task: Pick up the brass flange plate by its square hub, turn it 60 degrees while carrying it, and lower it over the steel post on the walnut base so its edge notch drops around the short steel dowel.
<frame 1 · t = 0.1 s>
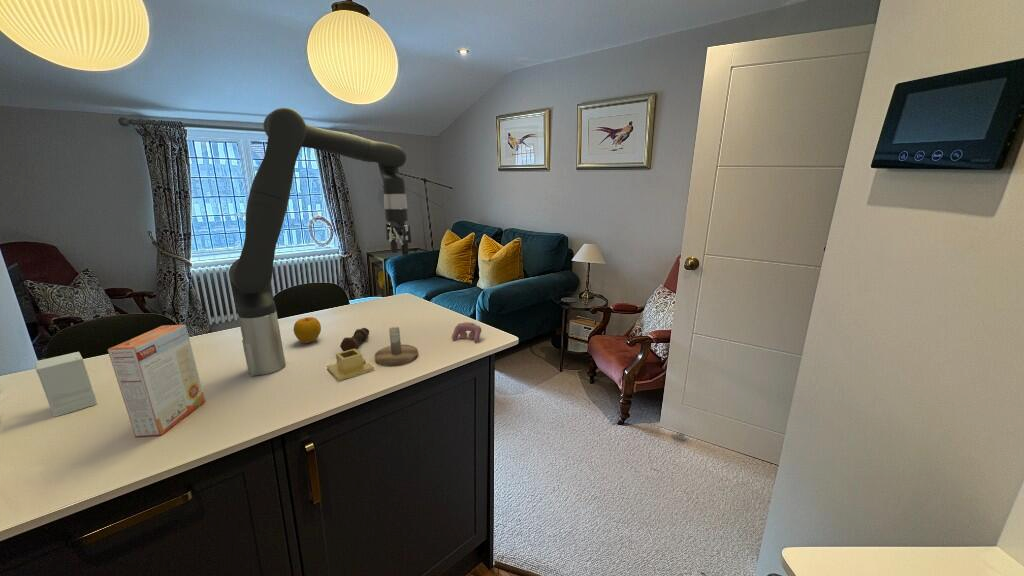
hand: (399, 254, 136), 29 cm above the worktop, fingers open, 8 cm apart
post base: (396, 356, 121), on the worktop
purple arched piece: (467, 340, 135), on the worktop
cracker box: (172, 419, 90), on the worktop
dark brown dumbbell: (358, 345, 132), on the worktop
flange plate: (350, 369, 113), on the worktop
apple: (309, 342, 134), on the worktop
supplement box: (75, 406, 95), on the worktop
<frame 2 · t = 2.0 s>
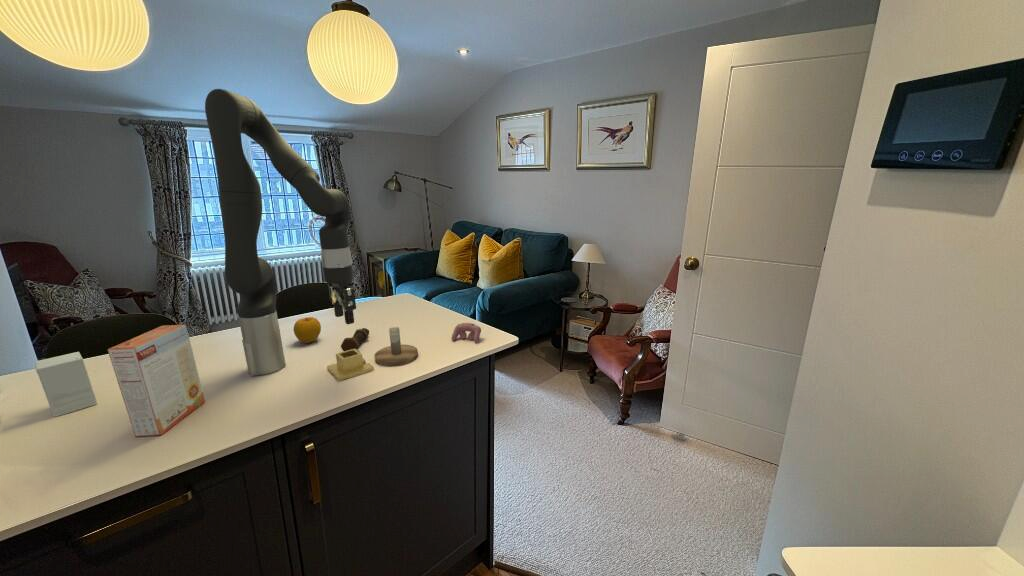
hand: (344, 319, 109), 15 cm above the worktop, fingers open, 8 cm apart
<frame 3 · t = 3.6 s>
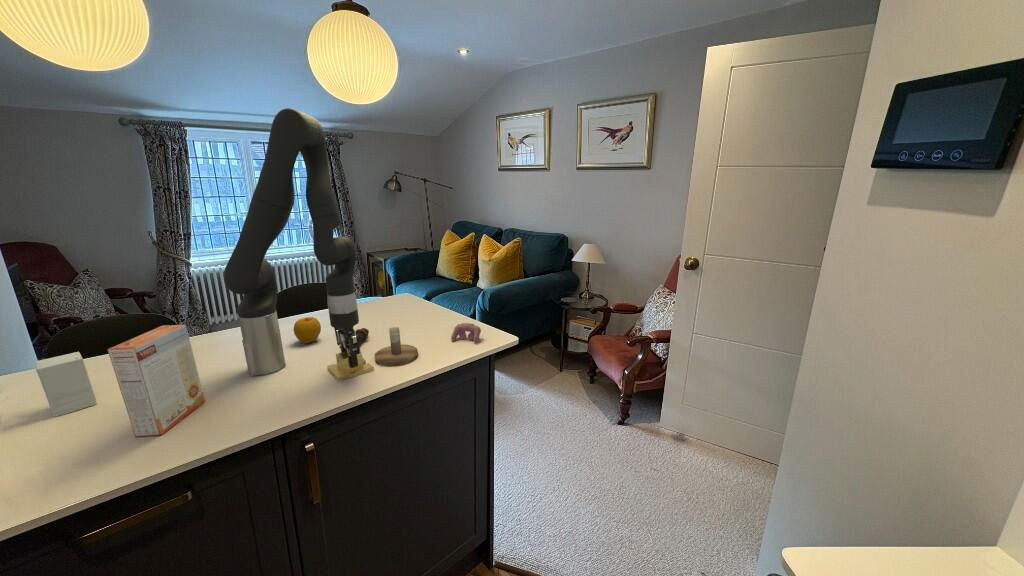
hand: (350, 363, 113), 2 cm above the worktop, fingers closed on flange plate, 5 cm apart
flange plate: (350, 369, 113), on the worktop, touching gripper
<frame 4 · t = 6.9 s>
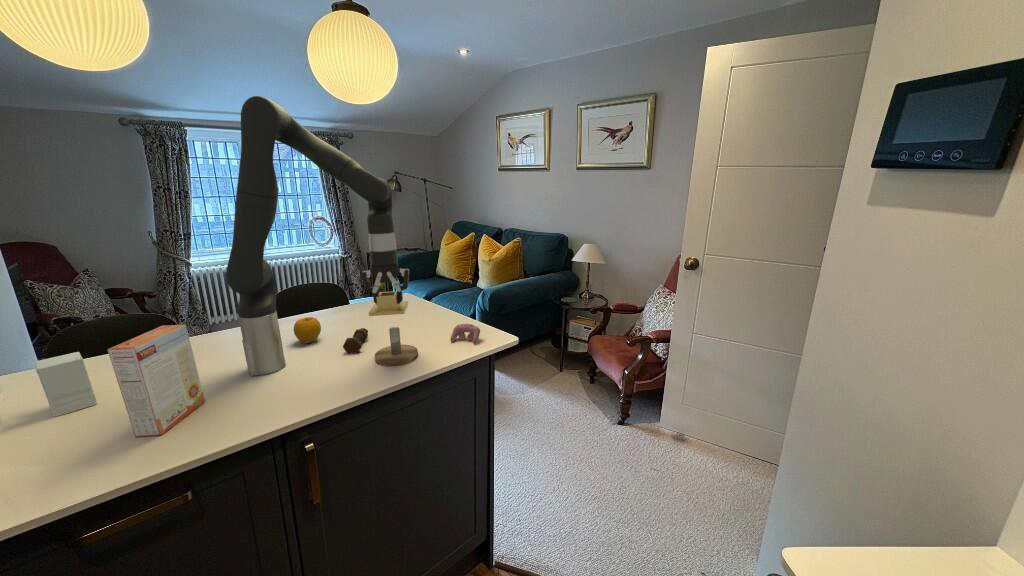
hand: (388, 303, 116), 18 cm above the worktop, fingers closed on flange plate, 5 cm apart
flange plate: (389, 309, 117), point 16 cm above the worktop, touching gripper
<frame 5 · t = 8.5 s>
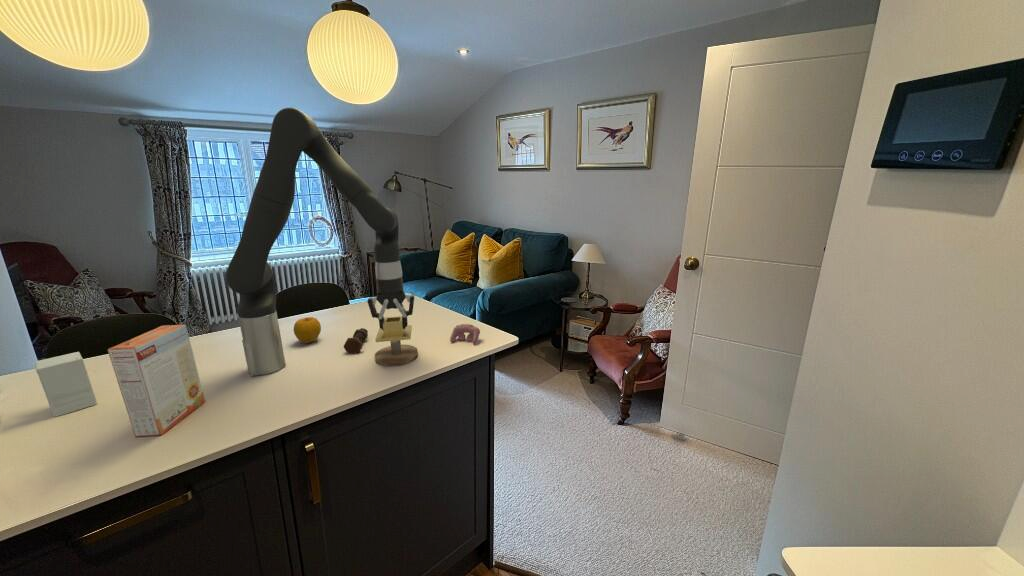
hand: (394, 328, 119), 10 cm above the worktop, fingers closed on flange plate, 5 cm apart
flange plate: (394, 334, 119), point 7 cm above the worktop, touching gripper
when the fingers open (4 cm above the worktop, at t = 10.1 s): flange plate stays where it is, resting on post base.
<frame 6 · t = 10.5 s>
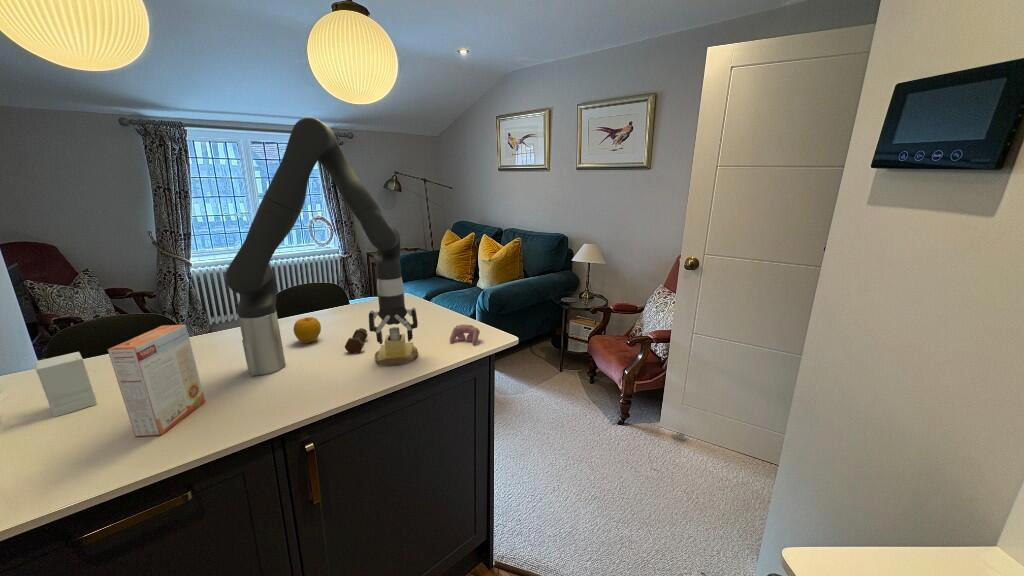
hand: (395, 341, 120), 5 cm above the worktop, fingers open, 8 cm apart
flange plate: (396, 352, 121), point 1 cm above the worktop, touching post base
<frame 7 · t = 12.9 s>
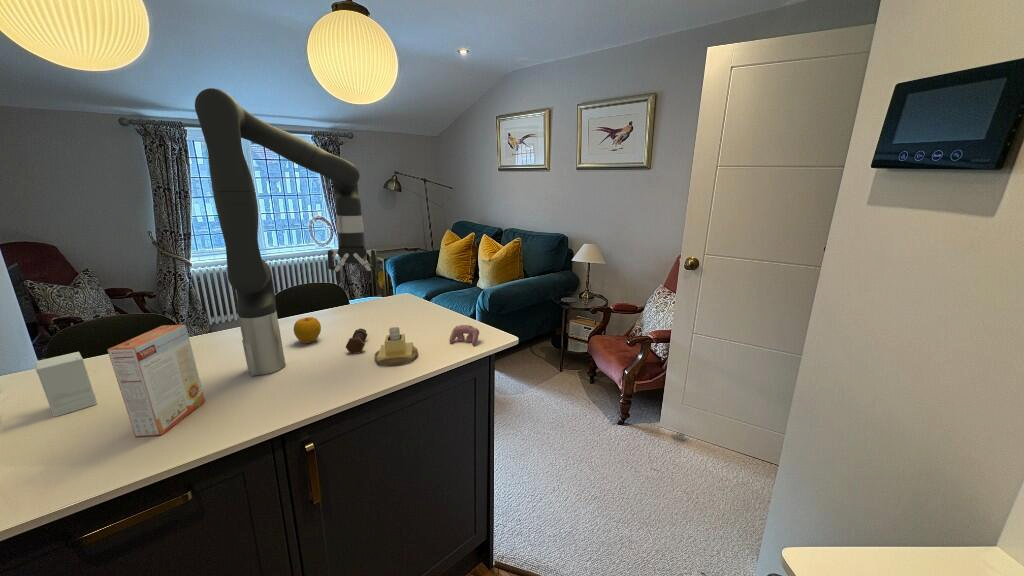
hand: (354, 282, 121), 23 cm above the worktop, fingers open, 8 cm apart
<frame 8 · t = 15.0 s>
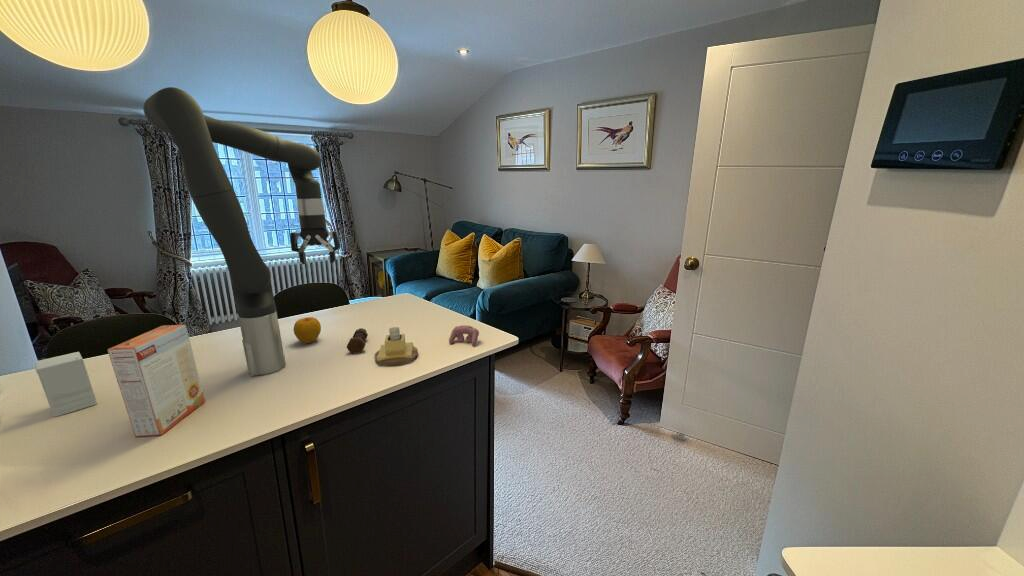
hand: (318, 263, 126), 28 cm above the worktop, fingers open, 8 cm apart
at the end: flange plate 0.1 cm from the post base (horizontally); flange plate point 1.5 cm above the worktop; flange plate tilted 0° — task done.
